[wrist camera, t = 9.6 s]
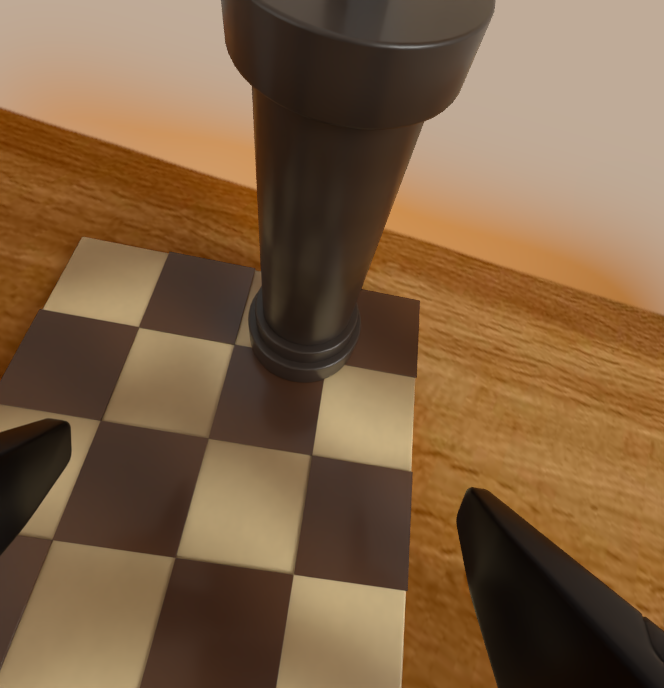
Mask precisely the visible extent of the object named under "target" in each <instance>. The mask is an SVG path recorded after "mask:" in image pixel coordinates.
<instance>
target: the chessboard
mask: <svg viewBox="0 0 664 688" xmlns="http://www.w3.org/2000/svg"><path fill="white" fill-rule="evenodd" d="M261 286H262V281H261V271H256V270H255V268H251V267H246V266H240V265H235V264H230V263H225V262H220V261H215V260H210V259H205V258H200V257H195V256H189V255H184V254H179V253H174V252H169V253H164V252H159V251H154V250H149V249H144V248H139V247H133V246H128V245H123V244H118V243H113V242H108V241H103V240H98V239H93V238H87V237H82V238H81V240H80V242H79V244H78V245H77V247H76V249H75V251H74V253H73V255H72V256H71V258H70V260H69V262H68V264H67V266H66V267H65V269H64V271H63V273H62V275H61V277H60V278H59V280H58V282H57V284H56V286H55V288H54V289H53V291H52V293H51V295H50V297H49V299H48V301H47V302H46V304H45V306H44V308H43V309H40V310H39V311H38V313H37V315H36V317H35V319H34V320H33V322H32V324H31V326H30V328H29V330H28V331H27V333H26V335H25V337H24V339H23V341H22V342H21V344H20V346H19V348H18V350H17V351H16V353H15V355H14V357H13V359H12V361H11V362H10V364H9V366H8V368H7V370H6V372H5V373H4V375H3V377H2V379H1V381H0V432H2V431H6V430H9V429H12V428H16V427H19V426H22V425H26V424H29V423H32V422H36V421H39V420H43V419H46V418H53V419H59V420H65V421H67V422H69V423H70V426H71V445H72V454H71V458H70V461H69V463H68V465H67V467H66V468H65V469H64V471H63V472H62V474H61V475H60V477H59V478H58V480H57V481H56V482H55V484H54V485H53V487H52V488H51V490H50V491H49V493H48V494H47V496H46V497H45V498H44V500H43V501H42V503H41V504H40V506H39V507H38V509H37V510H36V512H35V513H34V514H33V516H32V517H31V519H30V520H29V521H28V523H27V524H26V526H25V527H24V528H23V529H22V531H21V532H20V533H19V534H18V536H17V537H16V538H15V539H14V541H13V542H12V543H11V544H10V545H9V547H8V548H7V549H6V550H5V551H4V553H3V554H2V555H1V556H0V688H402V666H403V644H404V621H405V599H406V591H407V590H408V567H409V544H410V520H411V497H412V473H413V472H411V463H412V441H413V418H414V395H415V378H416V377H417V356H418V333H419V309H420V301H419V300H414V299H409V298H404V297H399V296H393V295H388V294H383V293H378V292H373V291H368V290H363V289H361V291H360V294H359V296H358V299H357V305H358V309H359V312H360V317H361V330H360V335H359V338H358V340H357V343H356V345H355V347H354V349H353V352H352V354H351V356H350V358H349V359H348V361H347V362H346V364H345V365H344V366H343V367H342V368H341V369H340V370H339V371H338V372H336V373H335V374H333V375H332V376H330V377H328V378H325V379H323V380H320V381H315V382H307V383H302V382H293V381H289V380H285V379H283V378H280V377H278V376H276V375H275V374H273V373H271V372H270V371H269V370H268V369H266V368H265V367H264V366H263V365H262V364H261V362H260V361H259V360H258V358H257V357H256V355H255V353H254V351H253V348H252V345H251V341H250V333H249V325H248V314H249V309H250V305H251V303H252V300H253V298H254V297H255V295H256V293H257V292H258V291H259V289H260V287H261Z"/></svg>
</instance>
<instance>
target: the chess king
mask: <svg viewBox="0 0 664 688" xmlns="http://www.w3.org/2000/svg"><path fill="white" fill-rule="evenodd" d="M221 4H222V14H223V24H224V33H225V43H226V47H227V50H228V53H229V55H230V57H231V59H232V61H233V63H234V65H235V67H236V68H237V69H238V71H239V72H240V74H241V75H242V76H243V77H244V78H245V79H246V80H247V81H248V82H249V83H250V85H252V99H253V119H254V139H255V159H256V180H257V200H258V220H259V241H260V261H261V281H262V286H261V287H260V289H259V291H258V292H257V293H256V295H255V297H254V298H253V300H252V303H251V305H250V309H249V314H248V325H249V333H250V341H251V345H252V348H253V351H254V353H255V355H256V357H257V358H258V360H259V361H260V362H261V364H262V365H263V366H264V367H265V368H266V369H268V370H269V371H270V372H271V373H273V374H275V375H276V376H278V377H280V378H283V379H285V380H289V381H293V382H302V383H307V382H315V381H320V380H323V379H325V378H328V377H330V376H332V375H333V374H335V373H336V372H338V371H339V370H340V369H341V368H342V367H343V366H344V365H345V364H346V362H347V361H348V359H349V358H350V356H351V354H352V352H353V349H354V347H355V345H356V343H357V340H358V338H359V335H360V330H361V317H360V312H359V309H358V305H357V299H358V296H359V294H360V291H361V288H362V286H363V283H364V280H365V278H366V275H367V272H368V270H369V267H370V264H371V262H372V259H373V256H374V254H375V251H376V248H377V246H378V243H379V240H380V238H381V235H382V232H383V230H384V227H385V224H386V222H387V219H388V216H389V214H390V211H391V209H392V206H393V203H394V201H395V198H396V195H397V193H398V190H399V187H400V184H401V182H402V179H403V176H404V174H405V171H406V169H407V166H408V163H409V160H410V158H411V155H412V153H413V150H414V147H415V145H416V142H417V139H418V137H419V134H420V131H421V129H422V126H423V123H424V121H426V120H429V119H431V118H433V117H435V116H437V115H438V114H440V113H441V112H443V111H444V110H445V109H446V108H447V107H448V106H449V105H450V104H451V103H453V101H454V100H455V99H456V97H457V96H458V94H459V92H460V90H461V88H462V85H463V83H464V81H465V78H466V76H467V74H468V72H469V69H470V67H471V65H472V62H473V60H474V57H475V55H476V53H477V50H478V48H479V46H480V44H481V41H482V39H483V36H484V35H485V32H486V30H487V28H488V25H489V23H490V21H491V18H492V16H493V13H494V9H495V0H221Z"/></svg>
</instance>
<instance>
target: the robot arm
mask: <svg viewBox="0 0 664 688" xmlns="http://www.w3.org/2000/svg"><path fill="white" fill-rule="evenodd" d="M71 454H72V445H71V426H70V423H69V422H67V421H65V420H59V419H53V418H46V419H43V420H39V421H36V422H32V423H29V424H26V425H22V426H19V427H16V428H12V429H9V430H6V431H2V432H0V556H1V555H2V554H3V553H4V551H5V550H6V549H7V548H8V547H9V545H10V544H11V543H12V542H13V541H14V539H15V538H16V537H17V536H18V534H19V533H20V532H21V531H22V529H23V528H24V527H25V526H26V524H27V523H28V521H29V520H30V519H31V517H32V516H33V514H34V513H35V512H36V510H37V509H38V507H39V506H40V504H41V503H42V501H43V500H44V498H45V497H46V496H47V494H48V493H49V491H50V490H51V488H52V487H53V485H54V484H55V482H56V481H57V480H58V478H59V477H60V475H61V474H62V472H63V471H64V469H65V468H66V467H67V465H68V463H69V461H70V458H71ZM456 522H457V530H458V535H459V540H460V545H461V550H462V556H463V561H464V566H465V571H466V576H467V581H468V586H469V590H470V595H471V598H472V602H473V605H474V609H475V612H476V616H477V619H478V622H479V626H480V629H481V632H482V636H483V639H484V643H485V646H486V649H487V653H488V656H489V659H490V663H491V666H492V670H493V673H494V676H495V680H496V683H497V686H498V688H664V631H663V630H662V629H660V628H659V627H658V626H657V625H655V624H654V623H653V622H652V621H650V620H649V619H648V618H647V617H642V614H641V613H640V612H639V611H638V610H637V609H635V608H634V607H633V606H632V605H630V604H629V603H628V602H627V601H625V600H624V599H623V598H622V597H620V596H619V595H618V594H617V593H615V592H614V591H613V590H612V589H610V588H609V587H608V586H607V585H605V584H604V583H603V582H602V581H600V580H599V579H598V578H597V577H595V576H594V575H593V574H592V573H590V572H589V571H588V570H587V569H585V568H584V567H583V566H582V565H580V564H579V563H578V562H577V561H575V560H574V559H573V558H572V557H570V556H569V555H568V554H567V553H565V552H564V551H563V550H562V549H560V548H559V547H558V546H557V545H555V544H554V543H553V542H552V541H550V540H549V539H548V538H547V537H545V536H544V535H543V534H542V533H540V532H539V531H538V530H537V529H535V528H534V527H533V526H532V525H530V524H529V523H528V522H527V521H525V520H524V519H523V518H522V517H520V516H519V515H518V514H517V513H515V512H514V511H513V510H512V509H511V508H509V507H508V506H507V505H506V504H504V503H503V502H502V501H501V500H499V499H498V498H497V497H496V496H494V495H493V494H492V493H491V492H489V491H488V490H486V489H480V488H474V487H471V488H468V489H467V491H466V493H465V495H464V498H463V501H462V503H461V506H460V509H459V511H458V514H457V521H456Z"/></svg>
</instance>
